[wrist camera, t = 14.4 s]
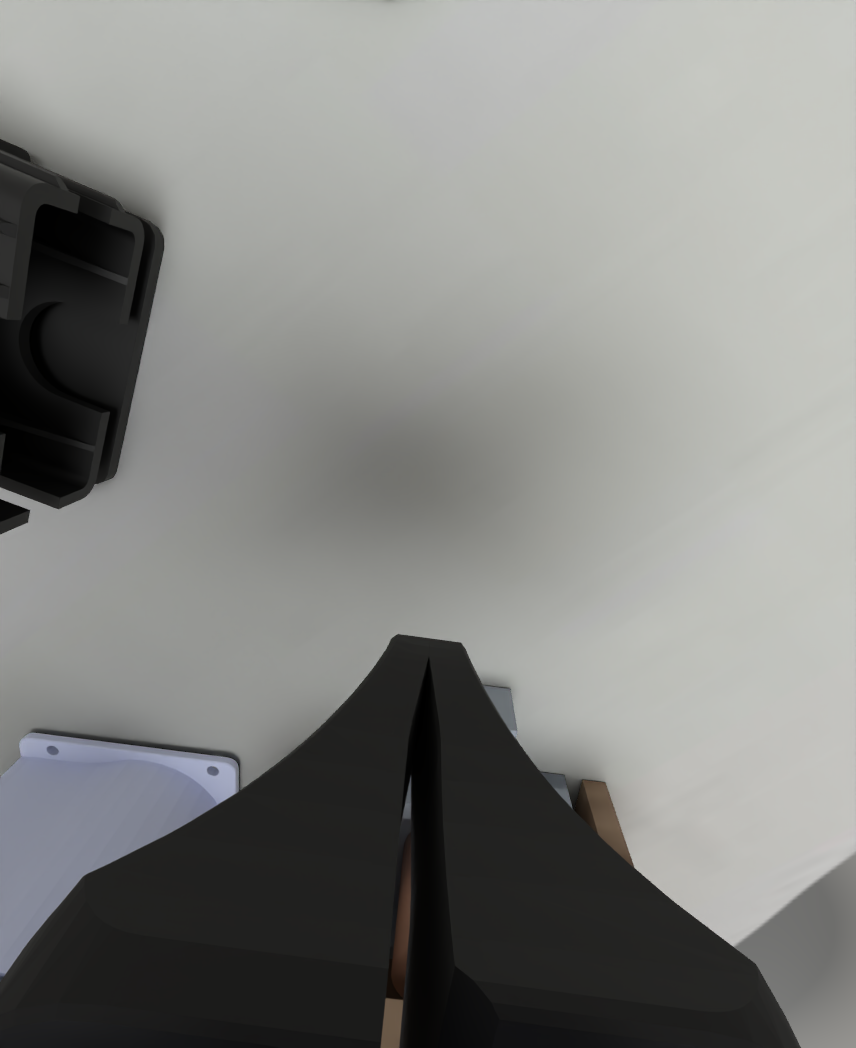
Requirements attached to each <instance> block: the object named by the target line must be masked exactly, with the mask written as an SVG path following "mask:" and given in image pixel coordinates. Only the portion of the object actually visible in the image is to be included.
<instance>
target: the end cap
mask: <svg viewBox="0 0 856 1048" xmlns="http://www.w3.org/2000/svg"><path fill="white" fill-rule="evenodd" d="M163 250H164V239H163V236H162V234H161V232H160V230H159V228H158V227H156V226H155V225H154V224H152V223H151V222H150V221H147V220H145V219H143V218H140V217H138V216H136V215H133V214H131V213H129V212H126V211H124V209H123V208H122V206H121V204H120V203H119V202H118V201H117V200H116V199H114V198H112V197H110V196H107V195H105V194H103V193H100V192H98V191H96V190H93V189H91V188H89V187H86V186H84V185H82V184H79V183H77V182H75V181H72V180H70V179H68V178H65V177H63V176H61V175H58V174H56V173H54V172H51V171H49V170H47V169H44V168H42V167H40V166H37V165H35V164H33V163H30V156H29V154H28V153H27V151H25V150H24V149H22V148H19V147H17V146H15V145H13V144H10V143H8V142H6V141H3V140H1V139H0V487H1V488H4V489H6V490H9V491H12V492H14V493H17V494H19V495H22V496H25V497H27V498H30V499H33V500H35V501H38V502H41V503H43V504H46V505H49V506H51V507H54V508H56V509H60V508H62V507H65V506H67V505H69V504H71V503H74V502H76V501H78V500H81V499H83V498H84V497H86V496H87V495H88V494H89V493H90V491H91V490H92V488H93V486H94V484H99V483H101V482H104V481H106V480H108V479H111V478H113V476H114V475H115V473H116V471H117V466H118V462H119V457H120V452H121V447H122V443H123V438H124V433H125V429H126V424H127V419H128V414H129V410H130V405H131V400H132V396H133V391H134V386H135V382H136V377H137V372H138V367H139V363H140V358H141V353H142V349H143V344H144V339H145V334H146V330H147V325H148V320H149V316H150V311H151V306H152V302H153V297H154V292H155V287H156V283H157V278H158V273H159V269H160V264H161V259H162V255H163ZM29 513H30V510H28V509H25V508H22V507H20V506H17V505H15V504H12V503H9V502H7V501H4V500H1V499H0V534H2V533H4V532H7V531H9V530H11V529H14V528H16V527H18V526H21V525H23V524H25V523H28V519H29Z"/></svg>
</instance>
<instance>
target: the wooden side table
mask: <svg viewBox="0 0 856 1048" xmlns="http://www.w3.org/2000/svg"><path fill="white" fill-rule="evenodd" d="M574 811H575V812H576V813H577V814H578V815H579V816H580V817H581V818H582V819H583V820H584V821H585V822H586V823H587V824H588V825H589V826H590V827H591V828H592V829H593V830H594V831H595V832H596V833H597V834H598V835H599V836H600V837H601V838H602V839H603V840H604V841H605V842H606V843H607V844H608V845H609V846H611V847H612V848H613V849H614V850H615V851H616V852H617V853H618V854H619V855H620V856H621V857H622V858H624V859H625V860H626V861H627V862H628V863H629V864H630V865H631V866H633V867H634V865H633V862H632V859H631V856H630V853H629V851H628V848H627V845H626V842H625V839H624V836H623V833H622V830H621V827H620V824H619V821H618V818H617V815H616V812H615V809H614V807H613V804H612V801H611V798H610V795H609V792H608V789H607V786H606V783H603V782H595V781H588V780H582V783H581V787H580V791H579V794H578V798H577V802H576V806H575V809H574ZM392 960H393V959H389V970H388V980H387V990H386V1000H385V1010H384V1019H383V1029H382V1039H381V1048H399V1044H400V1032H401V1021H402V1010H403V998H402V997H401V996H400V995H399V993H398V992H397V991H396V989H395V987H394V985H393V983H392V978H391V970H392Z"/></svg>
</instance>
